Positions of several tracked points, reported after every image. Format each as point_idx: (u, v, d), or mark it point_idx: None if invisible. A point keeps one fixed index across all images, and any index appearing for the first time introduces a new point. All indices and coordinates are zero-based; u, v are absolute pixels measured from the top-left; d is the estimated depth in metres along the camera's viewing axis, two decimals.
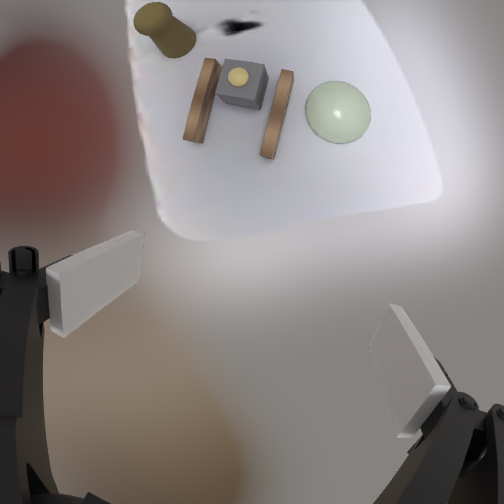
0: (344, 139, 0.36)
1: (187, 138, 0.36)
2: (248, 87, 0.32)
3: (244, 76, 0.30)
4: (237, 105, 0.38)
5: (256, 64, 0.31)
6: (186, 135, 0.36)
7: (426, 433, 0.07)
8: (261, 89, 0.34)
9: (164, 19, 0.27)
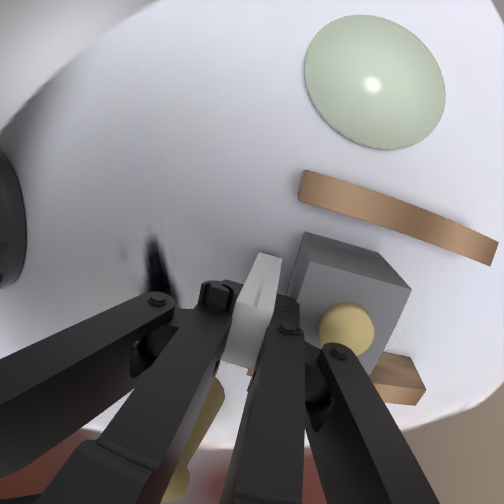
0: (437, 77, 0.13)
1: (417, 398, 0.16)
2: (375, 304, 0.12)
3: (352, 321, 0.12)
4: None
5: (307, 282, 0.12)
6: (411, 400, 0.16)
7: (256, 361, 0.10)
8: (356, 258, 0.15)
9: None
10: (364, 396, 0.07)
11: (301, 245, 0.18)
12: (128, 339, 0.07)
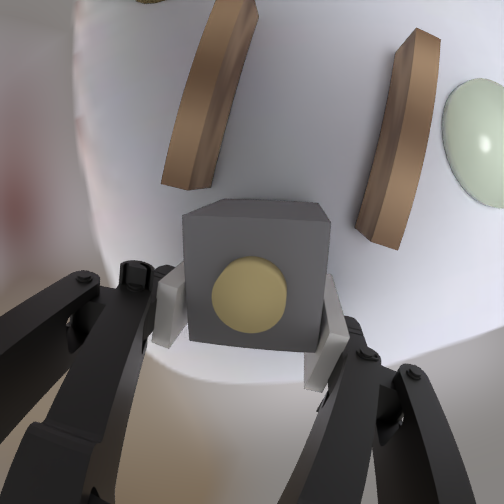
0: None
1: (173, 182, 0.14)
2: (290, 318, 0.10)
3: (272, 300, 0.09)
4: None
5: (302, 225, 0.10)
6: (170, 173, 0.14)
7: (330, 385, 0.10)
8: None
9: None
10: (431, 414, 0.06)
11: (303, 202, 0.15)
12: (62, 314, 0.07)
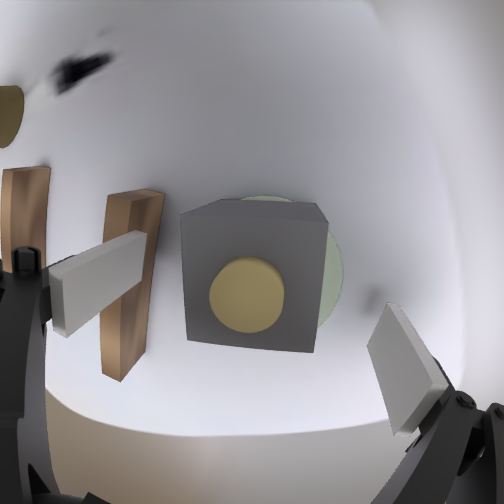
0: None
1: None
2: (287, 317, 0.10)
3: (270, 300, 0.09)
4: None
5: (300, 225, 0.10)
6: None
7: (424, 432, 0.07)
8: None
9: None
10: None
11: (301, 203, 0.15)
12: None
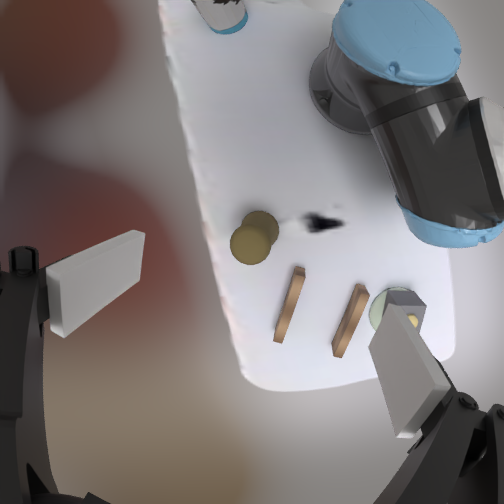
0: None
1: (277, 341, 0.46)
2: (415, 326, 0.39)
3: (415, 323, 0.38)
4: None
5: (421, 306, 0.38)
6: (276, 339, 0.46)
7: (426, 433, 0.07)
8: None
9: (267, 255, 0.37)
10: None
11: (410, 291, 0.43)
12: None
